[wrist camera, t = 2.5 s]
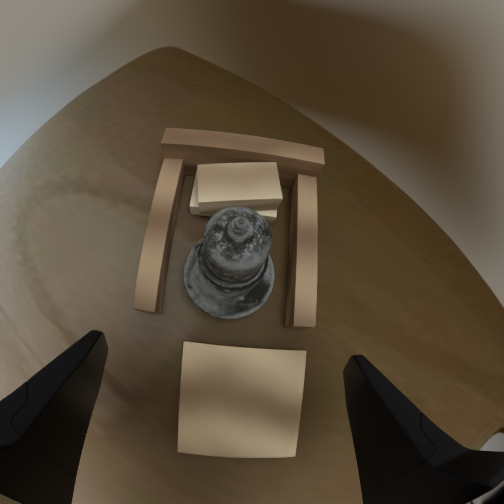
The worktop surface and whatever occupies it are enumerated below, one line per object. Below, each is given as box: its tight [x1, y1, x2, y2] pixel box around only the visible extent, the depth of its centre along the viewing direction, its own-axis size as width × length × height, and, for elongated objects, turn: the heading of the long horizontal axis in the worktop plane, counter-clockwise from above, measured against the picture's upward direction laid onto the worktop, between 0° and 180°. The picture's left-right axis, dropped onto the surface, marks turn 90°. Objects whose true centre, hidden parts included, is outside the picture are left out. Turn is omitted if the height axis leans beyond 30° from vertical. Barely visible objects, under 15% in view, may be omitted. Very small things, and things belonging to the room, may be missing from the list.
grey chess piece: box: [184, 206, 275, 319], centre depth 15 cm, size 6×6×12 cm
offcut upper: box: [197, 162, 283, 214], centre depth 21 cm, size 3×6×2 cm, turn 96°
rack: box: [133, 128, 325, 328], centre depth 20 cm, size 14×13×4 cm
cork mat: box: [178, 341, 306, 458], centre depth 18 cm, size 9×9×1 cm
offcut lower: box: [190, 168, 277, 225], centre depth 23 cm, size 4×7×2 cm, turn 85°
